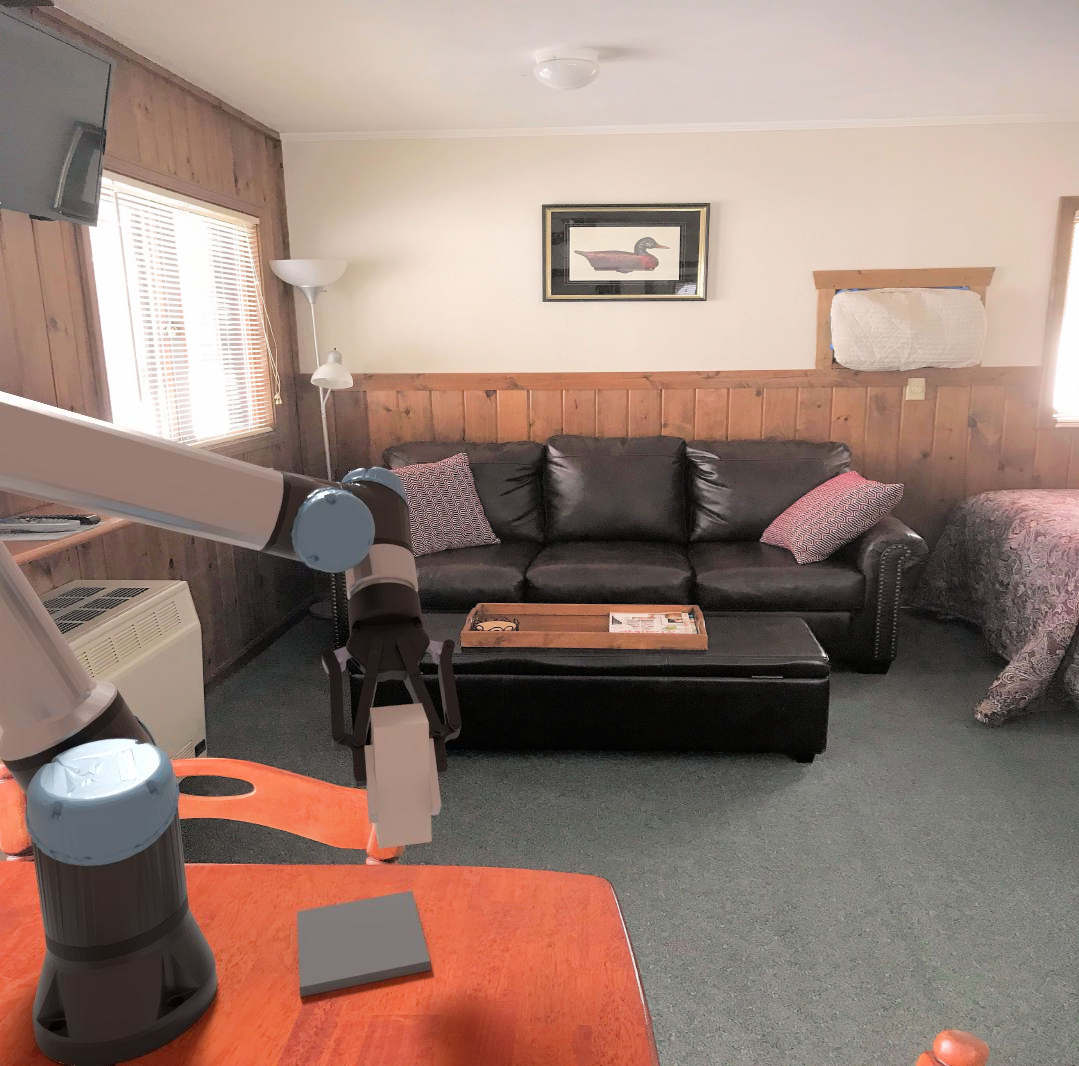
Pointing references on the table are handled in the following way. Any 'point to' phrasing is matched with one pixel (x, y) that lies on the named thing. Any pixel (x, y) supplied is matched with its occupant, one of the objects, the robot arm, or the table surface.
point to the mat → (360, 943)
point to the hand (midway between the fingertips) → (405, 814)
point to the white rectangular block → (401, 774)
